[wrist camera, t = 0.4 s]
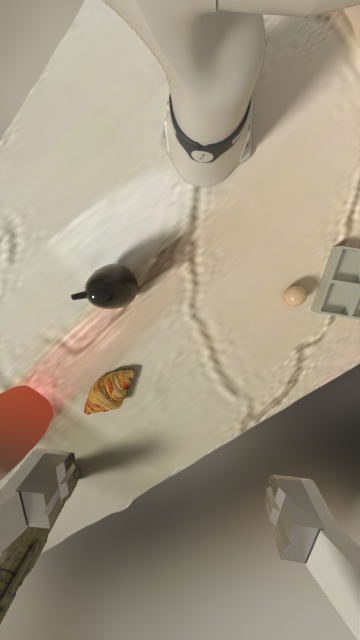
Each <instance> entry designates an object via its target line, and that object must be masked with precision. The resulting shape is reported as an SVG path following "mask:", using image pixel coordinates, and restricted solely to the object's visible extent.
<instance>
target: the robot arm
mask: <svg viewBox="0 0 360 640" xmlns="http://www.w3.org/2000/svg"><path fill="white" fill-rule="evenodd" d="M102 1H103V2H104V3H106V4H107V5H108V6H109V7H110V8H111V9H113V10H114V11H115V12H116V13H117V14H118V15H119V16H120V17H121V18H122V19H123V20H124V21H125V22H126V23H127V24H128V25H129V26H130V27H131V28H132V29H133V30H134V31H135V32H136V34H137V35H138V36H139V37H140V38H141V39H142V41H143V42H144V43H145V44H146V46H147V47H148V48H149V50H150V51H151V52H152V54H153V55H154V56H155V58H156V59H157V61H158V62H159V64H160V65H161V67H162V68H163V70H164V72H165V74H166V78H167V82H168V86H169V90H170V96H169V101H168V102H167V105H166V111H167V116H166V119H165V123H164V127H163V131H162V135H161V139H160V143H161V147H162V148H163V150H164V151H165V152H166V153H167V154H168V155H169V156H170V157H171V159H172V161H173V164H174V166H175V168H176V170H177V172H178V173H179V175H180V176H181V177H182V178H183V179H184V180H185V181H186V182H188V183H190V184H192V185H194V186H198V187H210V186H213V185H216V184H218V183H220V182H221V181H223V180H224V179H225V178H226V177H227V176H228V175H229V174H230V173H231V172H232V171H233V169H234V168H235V167H236V166H238V165H240V164H241V163H243V162H245V161H246V160H247V159H248V158H249V157H250V155H251V149H252V125H253V102H254V88H255V85H256V82H257V79H258V77H259V74H260V71H261V68H262V64H263V59H264V53H265V25H264V18H263V14H268V15H281V16H295V17H309V16H314V15H318V14H323V13H328V12H332V11H337V10H341V9H344V8H348V7H351V6H355V5H359V4H360V0H102ZM246 145H247V147H246ZM245 147H246V148H245ZM74 460H75V455H74V453H72V452H65V451H57V450H50V449H43V448H37V449H36V450H34V451H33V452H32V453H31V454H30V455H29V457H28V458H27V459H26V460H25V461H24V463H23V464H22V465H21V466H20V467H19V469H18V470H17V471H16V472H15V473H14V475H13V476H12V477H11V478H10V479H9V480H8V482H7V483H6V484H5V485H4V486H3V488H2V489H1V490H0V553H1V552H3V551H4V550H5V549H6V548H7V547H8V546H9V545H10V544H11V543H12V542H13V541H14V540H15V539H16V538H17V537H19V536H20V535H21V534H22V533H23V532H24V531H25V530H26V529H27V526H28V527H39V528H49V529H50V528H51V526H52V524H53V522H54V521H55V519H56V517H57V515H58V513H59V511H60V509H61V508H62V504H61V500H62V499H63V498H65V497H66V496H67V495H68V494H69V492H70V490H71V489H72V487H73V484H74V481H75V478H76V466H75V465H74V464H73V461H74ZM269 483H270V487H269V488H268V489H267V490H266V495H265V496H266V508H267V513H268V516H269V519H270V520H271V522H272V523H273V525H274V526H275V527H276V528H275V531H274V538H275V541H276V544H277V548H278V551H279V555H280V558H281V559H282V560H288V561H294V562H300V563H306V566H307V568H308V569H309V570H310V572H311V573H312V575H313V576H314V578H315V579H316V581H317V582H318V583H319V585H320V586H321V588H322V589H323V591H324V592H325V593H326V594H327V596H328V598H329V599H330V600H331V602H332V604H333V605H334V606H335V608H336V609H337V611H338V612H339V613H340V615H341V616H342V618H343V619H344V621H345V622H346V624H347V625H348V626H349V628H350V629H351V631H352V632H353V634H354V635H355V637H356V638H357V639H358V640H360V547H359V546H358V545H357V544H356V543H355V542H354V541H353V540H352V539H351V538H350V537H349V536H348V535H347V534H346V533H343V532H341V531H340V529H339V527H338V525H337V524H336V522H335V520H334V518H333V516H332V514H331V513H330V511H329V509H328V507H327V505H326V503H325V502H324V500H323V498H322V496H321V494H320V492H319V490H318V488H317V487H316V485H315V483H314V482H313V481H312V480H311V479H304V478H297V477H288V476H277V475H272V476H271V477H270V479H269Z"/></svg>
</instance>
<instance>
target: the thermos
mask: <svg viewBox="0 0 360 640" xmlns="http://www.w3.org/2000/svg"><path fill="white" fill-rule="evenodd" d="M75 466H76V465H75ZM80 476H81V472H80V470H79V468H78V467H77V466H76V478H75V481H74V484H73V487H72V489H71V490H70V492H69V494H68V495H67V496H66V497H65V498H63V499H62V500H61V504H62V508H63V506H64V504H65V502H66V501H67V499H68V498H69V497H70V496H71V494H72V492H73V490H74V489H75V487H76V485H77V481H78V479H79V478H80ZM62 508H61V509H60V511H59V513H60V512H61V510H62ZM59 513H58V515H59ZM58 515H57V517H58ZM57 517H56V519H57ZM56 519H55V521H56ZM55 521H54V522H53V524H52V526H51V528H50V529H49V528H39V527H28V526H27V529H26V530H25V531H24V532H23V533H22V534H21V535H20V536H19V537H17V538H16V539H15V540H14V541H13V542H12V543H11V544H10V545H9V546H8V547H7V548H6V549H5V550H4V551H3V552H2V553H1V554H0V624H1V622H2V620H3V618H4V616H5V614H6V612H7V610H8V609H9V607H10V605H11V603H12V601H13V599H14V597H15V595H16V591H17V590H18V588H19V586H21V584H22V582H23V580H24V579H25V577H26V576H27V575H28V573H29V572H30V571H31V569H32V568H33V567H34V565H35V563H36V561H37V559H38V557H39V555H40V553H41V551H42V549H43V547H44V546H45V544H46V542H47V538H48V534H49V532H50V531H51V529H52V527H53V525H54V523H55Z"/></svg>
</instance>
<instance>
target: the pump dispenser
mask: <svg viewBox="0 0 360 640" xmlns="http://www.w3.org/2000/svg"><path fill="white" fill-rule="evenodd" d="M137 290H138V285H137V280H136V278H135V276H134V274H133V273H132V272H131V271H130V270H129V269H128V268H126V267H125V266H122V265H119V264H109V265H106V266H103V267H101V268H100V269H98V270H97V271H95V272H94V273H93V274H92V275H91V276H90V277H89V279H88V280H87V282H86V285H85V291H84V292H80V293H76V294H73V295H71V298H72V299H73V300H78V299H85V298H87V299H88V300H89V302H90V303H91V304H93V305H94V306H96V307H99V308H103V309H117V308H121V307H124V306H127V305H128V304H130V303H131V302H132V301H133V300H134V299H135V297H136V295H137Z"/></svg>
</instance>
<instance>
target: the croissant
mask: <svg viewBox="0 0 360 640" xmlns="http://www.w3.org/2000/svg"><path fill="white" fill-rule="evenodd" d="M134 374H135V372H134V370H131V369H129V370H119V371H115V372H112V373H110V374H108V375H103V376H101V377H100V378H99V379H98V380H97V382H96V383H95V384H94V385H93V387H92V388H91V390H90V392H89V395H88V399H87V402H86V403H85V410H84V413H86V414H87V415H88V414H91V413H96V412H100V411H104V412H106V411H109V410H113V409H117V408H119V407H121V405H122V403H123V399H124V398H125V397H126V392H127V389H128V387H129V386H130V383H131V379H133V377H134Z"/></svg>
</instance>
